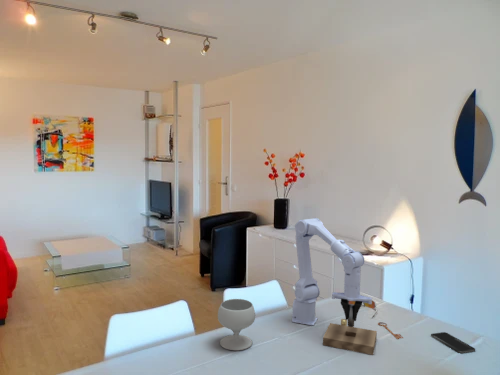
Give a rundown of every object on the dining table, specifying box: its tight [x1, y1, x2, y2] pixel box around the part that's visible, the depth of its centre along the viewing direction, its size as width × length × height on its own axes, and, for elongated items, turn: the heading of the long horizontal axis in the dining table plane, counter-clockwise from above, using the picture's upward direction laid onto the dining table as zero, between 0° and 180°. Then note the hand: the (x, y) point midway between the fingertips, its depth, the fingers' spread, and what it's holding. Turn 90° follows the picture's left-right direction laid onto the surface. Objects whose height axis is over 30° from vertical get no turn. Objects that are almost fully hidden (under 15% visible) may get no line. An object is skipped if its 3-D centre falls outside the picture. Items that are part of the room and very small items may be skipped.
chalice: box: [217, 298, 256, 351], centre depth 146 cm, size 14×14×15 cm
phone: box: [430, 331, 476, 355], centre depth 149 cm, size 8×1×15 cm
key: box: [377, 321, 404, 340], centre depth 160 cm, size 6×1×15 cm
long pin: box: [347, 304, 355, 327], centre depth 148 cm, size 2×2×8 cm
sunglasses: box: [349, 299, 378, 319], centre depth 180 cm, size 14×15×5 cm
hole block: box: [322, 322, 378, 356], centre depth 149 cm, size 18×14×3 cm
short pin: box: [340, 318, 348, 326], centre depth 160 cm, size 2×2×4 cm
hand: (350, 319), depth 148 cm, fingers closed on long pin, 2 cm apart
